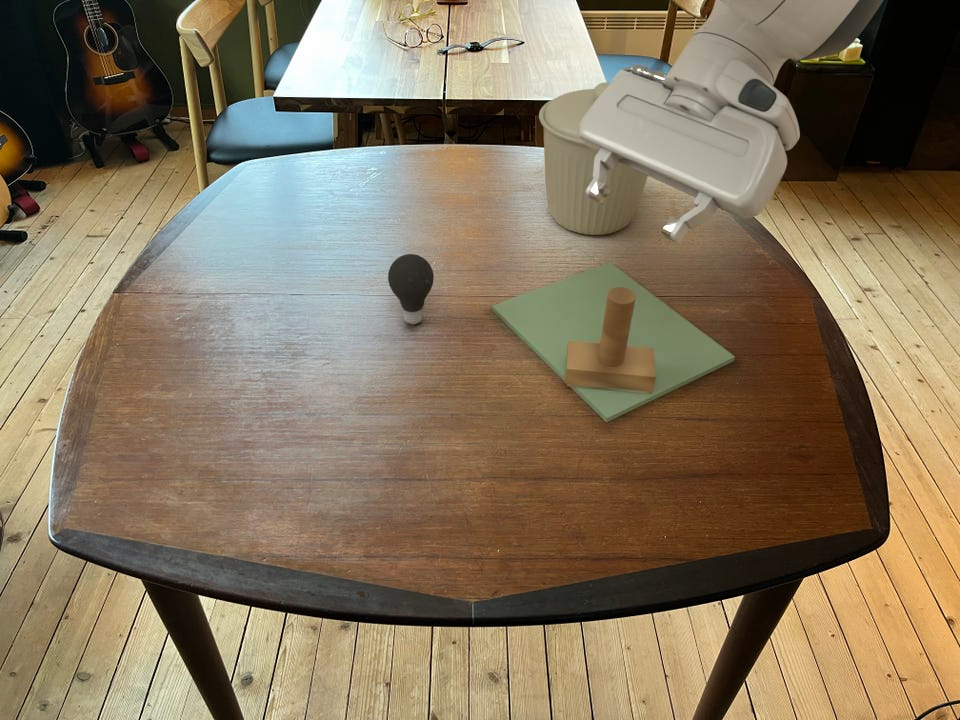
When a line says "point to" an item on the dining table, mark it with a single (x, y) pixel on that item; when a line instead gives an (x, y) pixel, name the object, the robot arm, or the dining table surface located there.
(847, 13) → the robot arm
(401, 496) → the dining table surface
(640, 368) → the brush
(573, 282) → the mat
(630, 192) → the canister
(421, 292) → the light bulb
